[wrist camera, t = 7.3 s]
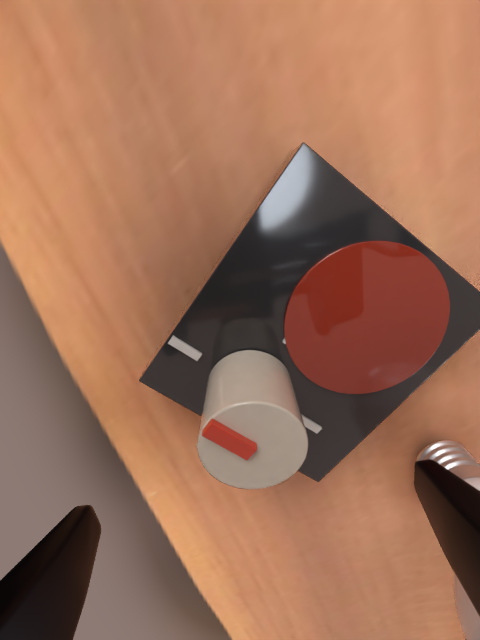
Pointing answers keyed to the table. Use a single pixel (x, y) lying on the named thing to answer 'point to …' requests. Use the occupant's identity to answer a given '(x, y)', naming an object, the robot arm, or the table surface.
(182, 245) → the table surface
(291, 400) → the hob knob
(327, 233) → the hob
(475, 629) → the lightbulb
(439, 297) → the burner zone
